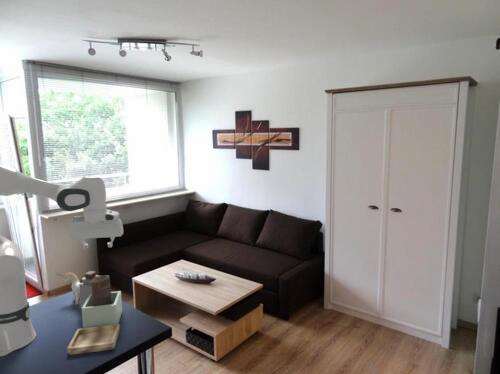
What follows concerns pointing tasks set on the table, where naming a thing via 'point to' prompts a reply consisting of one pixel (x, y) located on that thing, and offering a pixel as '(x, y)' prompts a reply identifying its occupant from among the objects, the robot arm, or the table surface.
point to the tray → (94, 339)
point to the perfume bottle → (86, 286)
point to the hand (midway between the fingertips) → (98, 247)
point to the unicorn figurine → (73, 285)
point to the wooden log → (101, 290)
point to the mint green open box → (102, 312)
